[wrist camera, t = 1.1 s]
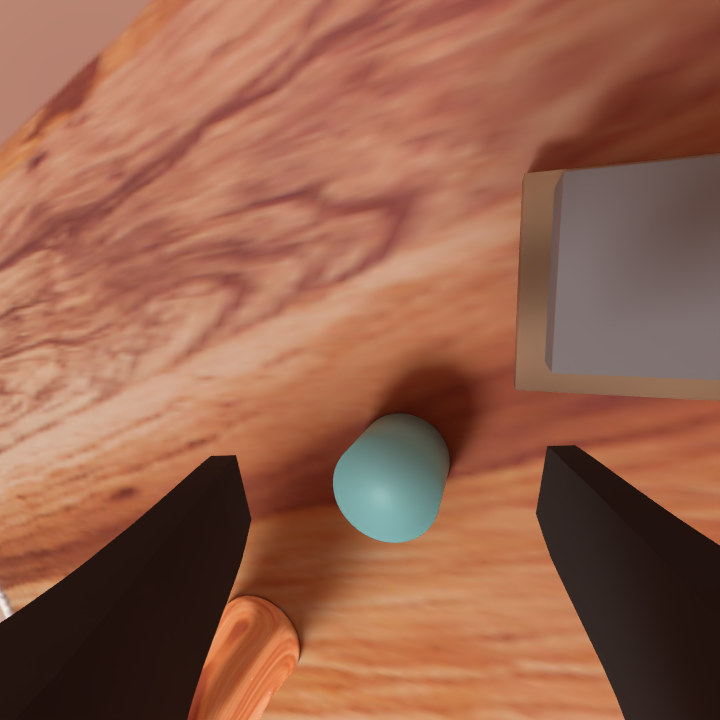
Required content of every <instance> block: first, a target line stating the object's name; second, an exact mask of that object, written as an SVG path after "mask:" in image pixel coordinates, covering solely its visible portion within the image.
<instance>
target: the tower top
mask: <svg viewBox="0 0 720 720" xmlns="http://www.w3.org/2000/svg"><path fill="white" fill-rule="evenodd" d="M545 363H546V365H547V366H548V368H549V370H550V371H551V373H559V374H583V375H608V376H632V377H657V378H682V379H706V380H720V155H717V156H708V157H698V158H689V159H679V160H670V161H660V162H651V163H642V164H632V165H623V166H613V167H604V168H594V169H585V170H575V171H566V172H563V174H562V176H561V177H560V179H559V181H558V183H557V185H556V187H555V188H554V205H553V223H552V240H551V258H550V275H549V293H548V311H547V328H546V346H545Z"/></svg>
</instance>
